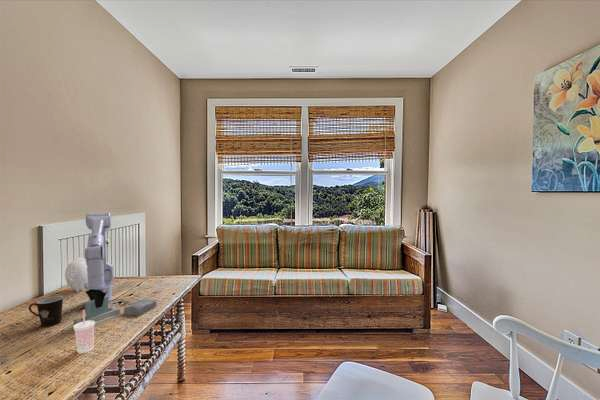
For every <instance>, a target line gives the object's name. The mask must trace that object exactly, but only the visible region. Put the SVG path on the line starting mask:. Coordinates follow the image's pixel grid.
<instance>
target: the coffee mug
mask: <svg viewBox="0 0 600 400" xmlns="http://www.w3.org/2000/svg"><path fill="white" fill-rule="evenodd" d="M63 301H64V296H62V295H53V296H48V297H44V298H41V299H39V300H37V301H36V302H34V303H31V304H30V305H29V307H28V310H29V312H30V313H31V314H33V315H35V316H37V317H38V318H39V323H40V326H41V327H42V328H47V327H54V326H56V325H58V324H60V323H62V313H63V312H62V311H63V303H64V302H63ZM32 306H36V309H37V312H38V313H36V312H34V311H33V310H32Z"/></svg>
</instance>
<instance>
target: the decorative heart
mask: <svg viewBox="0 0 600 400" xmlns="http://www.w3.org/2000/svg"><path fill="white" fill-rule="evenodd" d="M64 272H65V273H64V277H65V278H64V279H65V282H66V283H67V285H68V286H69V287H70V288H71V289H72V290H74V291H76V293H77V294H78V293H79V291H82V290H83V289H85V288H84V283H88V275H87V265H86V259H85V257H84V258H83V257H77V258H75V259H73V260H72V261H71V262H70V263H69V264H68V265H67V267H66V268H65V271H64Z"/></svg>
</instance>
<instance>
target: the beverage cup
mask: <svg viewBox="0 0 600 400" xmlns="http://www.w3.org/2000/svg"><path fill="white" fill-rule="evenodd" d="M85 316H86V309H83V310H82V317H83V322H80V323H77V324H76V325H74V324H73V330H74V334H75V342H76V350H77V353H78V354H85V353H88V352H90V351H92V350H94V347H95V346H94V345H95V326H96V325H95V321H92V320H89V321H85Z"/></svg>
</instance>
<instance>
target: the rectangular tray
mask: <svg viewBox="0 0 600 400" xmlns="http://www.w3.org/2000/svg"><path fill="white" fill-rule="evenodd" d="M108 307H109V311H106V312H103V313H100V314H98V315H95V316H92V317H90V318H88V317H86V315H85V321H89V320H92V321H95V325H94V326H97V325H100V324H102V323H104V321H105V322H107V321H109V320H112V319H115V318H118V317H120V316H121V315H122V314H121V308H118V307H114V306H112V305H111V306H108ZM80 322H83V316H82V317H79V318H73V326H74V325H76V324H77V323H80Z"/></svg>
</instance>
